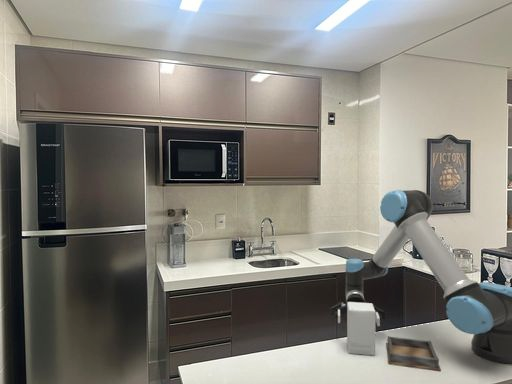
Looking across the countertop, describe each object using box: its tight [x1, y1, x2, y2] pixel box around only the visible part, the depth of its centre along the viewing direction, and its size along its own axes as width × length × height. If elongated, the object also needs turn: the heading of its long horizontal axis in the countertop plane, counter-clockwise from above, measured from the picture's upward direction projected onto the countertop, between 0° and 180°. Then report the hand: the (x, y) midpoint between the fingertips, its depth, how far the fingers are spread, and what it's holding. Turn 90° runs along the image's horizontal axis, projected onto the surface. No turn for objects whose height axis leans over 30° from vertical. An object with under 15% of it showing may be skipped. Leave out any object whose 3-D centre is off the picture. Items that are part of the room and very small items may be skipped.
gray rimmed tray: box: [385, 335, 442, 372], centre depth 118 cm, size 15×15×3 cm
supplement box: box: [346, 302, 376, 357], centre depth 123 cm, size 9×9×15 cm
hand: (358, 320), depth 127 cm, fingers open, 13 cm apart
